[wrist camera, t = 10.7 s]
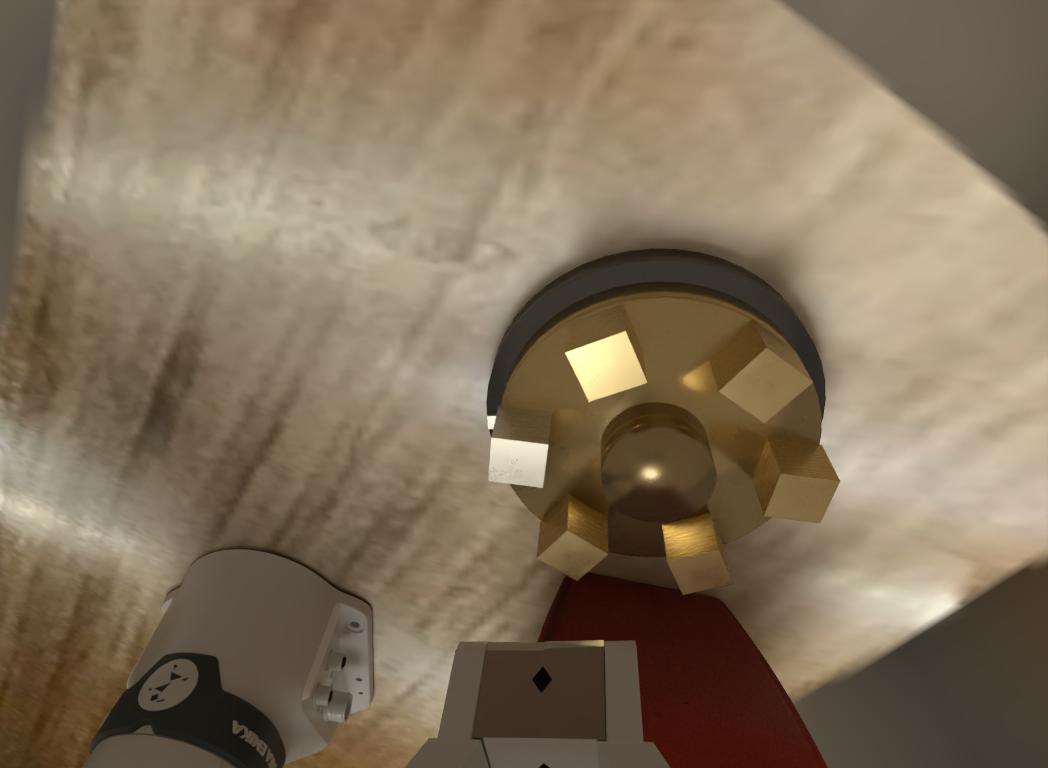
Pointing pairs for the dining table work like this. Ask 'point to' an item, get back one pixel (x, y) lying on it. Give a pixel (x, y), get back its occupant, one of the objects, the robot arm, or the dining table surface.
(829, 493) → the ring nut
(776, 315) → the nut base
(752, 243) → the dining table surface
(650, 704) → the plant pot
